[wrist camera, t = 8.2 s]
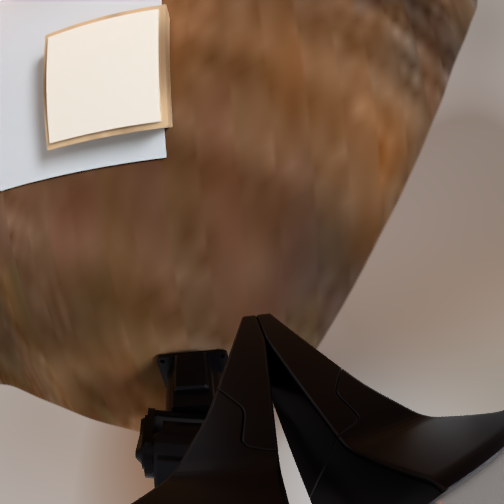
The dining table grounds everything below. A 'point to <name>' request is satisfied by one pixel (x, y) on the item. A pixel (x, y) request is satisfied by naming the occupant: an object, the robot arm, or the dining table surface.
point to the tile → (108, 77)
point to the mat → (32, 95)
